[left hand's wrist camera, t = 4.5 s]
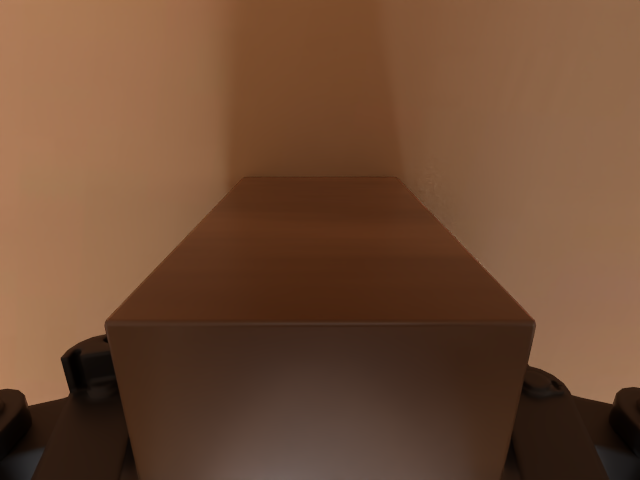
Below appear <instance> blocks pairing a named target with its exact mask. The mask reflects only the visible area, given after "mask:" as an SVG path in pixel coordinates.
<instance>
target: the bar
mask: <svg viewBox="0 0 640 480" xmlns="http://www.w3.org/2000/svg"><path fill="white" fill-rule="evenodd" d="M535 328H536V323H535V320H534V319H533V318H532V317H531V316H530V315H529V314H528V313H527V312H526V311H525V310H524V309H523V308H522V307H521V306H520V305H519V304H518V303H517V302H516V300H515V299H514V298H513V297H512V296H511V295H510V294H509V293H508V292H507V291H506V290H505V289H504V288H503V287H502V286H501V285H500V284H499V283H498V282H497V281H496V280H495V279H494V278H493V277H492V276H491V275H490V273H489V272H488V271H487V270H486V269H485V268H484V267H483V266H482V265H481V264H480V263H479V262H478V261H477V260H476V259H475V258H474V257H473V256H472V255H471V254H470V253H469V252H468V251H467V250H466V249H465V248H464V247H463V245H462V244H461V243H460V242H459V241H458V240H457V239H456V238H455V237H454V236H453V235H452V234H451V233H450V232H449V231H448V230H447V229H446V228H445V227H444V226H443V225H442V224H441V223H440V222H439V221H438V220H437V219H436V217H435V216H434V215H433V214H432V213H431V212H430V211H429V210H428V209H427V208H426V207H425V206H424V205H423V204H422V203H421V202H420V201H419V200H418V199H417V198H416V197H415V196H414V195H413V194H412V193H411V192H410V191H409V189H408V188H407V187H406V186H405V185H404V184H403V183H402V182H401V181H400V180H399V179H398V178H397V177H244V178H242V179H241V180H240V181H239V182H238V183H237V185H236V186H235V187H234V188H233V189H232V190H231V191H230V192H229V193H228V194H227V195H226V196H225V197H224V198H223V199H222V200H221V201H220V202H219V203H218V204H217V205H216V206H215V207H214V208H213V209H212V211H211V212H210V213H209V214H208V215H207V216H206V217H205V218H204V219H203V220H202V221H201V222H200V223H199V224H198V225H197V226H196V227H195V228H194V229H193V230H192V231H191V232H190V233H189V234H188V235H187V237H186V238H185V239H184V240H183V241H182V242H181V243H180V244H179V245H178V246H177V247H176V248H175V249H174V250H173V251H172V252H171V253H170V254H169V255H168V256H167V257H166V258H165V259H164V260H163V261H162V263H161V264H160V265H159V266H158V267H157V268H156V269H155V270H154V271H153V272H152V273H151V274H150V275H149V276H148V277H147V278H146V279H145V280H144V281H143V282H142V283H141V284H140V285H139V286H138V287H137V288H136V290H135V291H134V292H133V293H132V294H131V295H130V296H129V297H128V298H127V299H126V300H125V301H124V302H123V303H122V304H121V305H120V306H119V307H118V308H117V309H116V310H115V311H114V312H113V313H112V314H111V316H110V317H109V318H108V319H107V320H106V322H105V330H106V335H107V339H108V344H109V348H110V353H111V357H112V362H113V366H114V371H115V375H116V380H117V384H118V388H119V393H120V397H121V402H122V406H123V411H124V415H125V420H126V424H127V429H128V433H129V438H130V442H131V447H132V451H133V456H134V460H135V465H136V469H137V474H138V478H139V480H502V476H503V471H504V467H505V462H506V458H507V453H508V449H509V444H510V440H511V436H512V431H513V427H514V422H515V418H516V413H517V409H518V404H519V400H520V395H521V391H522V386H523V382H524V377H525V373H526V368H527V364H528V359H529V355H530V350H531V346H532V341H533V337H534V333H535Z"/></svg>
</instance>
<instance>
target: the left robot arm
mask: <svg viewBox="0 0 640 480" xmlns="http://www.w3.org/2000/svg"><path fill="white" fill-rule="evenodd" d="M61 361H62V365H63V369H64V372H65V376H66V380H67V383H68V387H69V390H70V394H69V396H68V397H66V398H63V399H59V400H54V401H49V402H45V403H40V404H36V405H31V406H28V404H27V401H26V398H25V395H24V394H23V393H21V392H20V391H19V390H13V389H3V390H0V480H139V478H138V474H137V469H136V465H135V460H134V456H133V451H132V447H131V442H130V438H129V433H128V429H127V424H126V420H125V415H124V411H123V406H122V402H121V397H120V393H119V388H118V384H117V380H116V375H115V371H114V366H113V362H112V357H111V353H110V348H109V344H108V339H107V335H106V334H105V335H100V336H96V337H92V338H90V339H87V340H85V341H82V342H80V343H78V344H76V345H75V346H73V347H72V348H70V349H69V350H67V352H66V353H65V354H64V355H63V356H62V357H61ZM502 480H640V388H636V387H630V388H623V389H621V390H620V391H619V392H617V393H616V396H615V399H614V402H613V404H608V403H603V402H599V401H594V400H589V399H585V398H580V397H577V396H573V395H571V393H570V391H569V390H568V389H567V387H566V386H565V385H564V383H563V382H561V381H560V380H559V379H557V378H556V377H555V376H553V375H551V374H549V373H547V372H545V371H543V370H541V369H538V368H534V367H530V366H529V365H528V364H527V368H526V373H525V377H524V382H523V386H522V391H521V395H520V400H519V404H518V409H517V413H516V418H515V422H514V427H513V431H512V436H511V440H510V444H509V449H508V453H507V458H506V462H505V467H504V471H503V476H502Z"/></svg>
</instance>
